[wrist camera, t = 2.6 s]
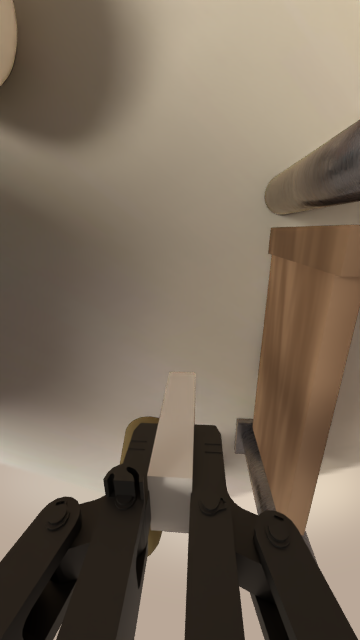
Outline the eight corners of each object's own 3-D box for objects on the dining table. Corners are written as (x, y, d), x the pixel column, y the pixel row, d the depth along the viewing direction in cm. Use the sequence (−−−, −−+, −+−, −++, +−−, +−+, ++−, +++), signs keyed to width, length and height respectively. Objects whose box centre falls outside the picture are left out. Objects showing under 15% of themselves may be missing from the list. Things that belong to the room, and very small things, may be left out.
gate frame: (234, 449, 29) (265, 629, 16) (257, 173, 20) (382, 58, 6) (272, 450, 29) (336, 635, 16) (315, 172, 19) (566, 50, 6)
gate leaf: (249, 427, 27) (283, 551, 16) (270, 227, 20) (351, 225, 10) (268, 427, 27) (314, 553, 16) (296, 227, 20) (405, 224, 10)
